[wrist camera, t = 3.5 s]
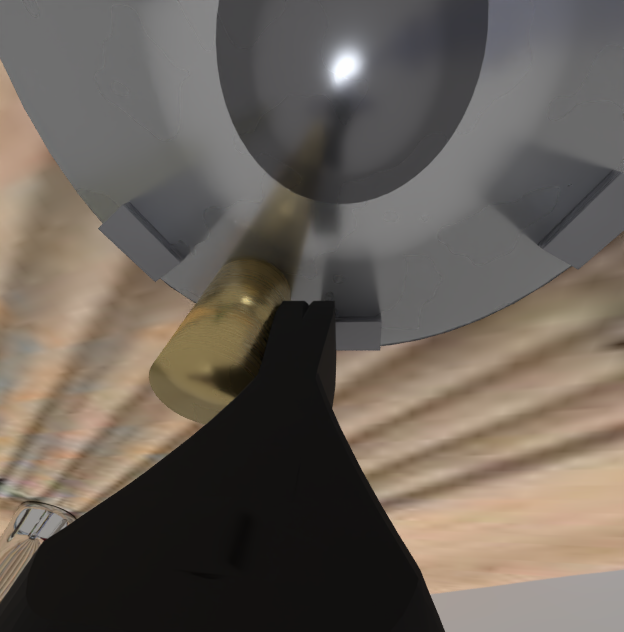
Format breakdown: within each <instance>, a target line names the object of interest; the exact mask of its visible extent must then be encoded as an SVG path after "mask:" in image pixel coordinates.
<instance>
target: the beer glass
mask: <svg viewBox="0 0 624 632" xmlns="http://www.w3.org/2000/svg"><path fill="white" fill-rule="evenodd" d="M75 520H76V519H75V517H74V516H72V515H71V514H70V513H68V512H66V511H64V510H62V509H60V508H57V507H54V506H51V505H47V504H43V503H38V502H25V503H22V504H21V505H20V506H19V507H18V509H17V510H16V512H15V514H14V515H13V517H12V519H11V520H10V522H9V524H8V526H7V527H6V529H5V530H4V532H3V534H2V535H1V536H0V602H1V601H2V599H3V598H4V597H5V595H6V594H7V592H8V591H9V589H10V588H11V586H12V585H13V583H14V582H15V580H16V579H17V577H18V576H19V574H20V573H21V572H22V570H23V569H24V567H25V566H26V564H27V563H28V562H29V560H30V559H31V557H32V556H33V555H34V553H35V552H36V550H37V549H38V548H39V546H40V545H41V544H42V542H43V541H44V540H46V539H48V538H49V537H51V536H52V535H54V534H55V533H57V532H59V531H60V530H62V529H63V528H65V527H66V526H68V525H69V524H71V523H72V522H74V521H75Z"/></svg>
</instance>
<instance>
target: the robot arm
mask: <svg viewBox="0 0 624 632" xmlns="http://www.w3.org/2000/svg"><path fill="white" fill-rule="evenodd" d="M335 380H336V322H335V301H313V302H312V303H310V305H309V304H308V303H307V302H305V301H283V302H282V303H281V305H280V306H279V308H278V310H277V311H276V313H275V316H274V319H273V322H272V326H271V330H270V333H269V337H268V341H267V344H266V348H265V352H264V355H263V359H262V363H261V366H260V369H259V372H258V375H257V376H256V377H255V378H254V379H253V380H252V381H251V382H250V383H249V384H248V385H247V386H246V387H245V388H244V389H243V390H242V391H241V392H240V393H239V394H238V395H237V396H236V397H235V398H234V399H233V400H232V401H231V402H230V403H229V404H228V405H227V406H226V407H225V408H223V409H222V410H221V411H220V412H219V413H218V414H217V415H216V416H215V417H213V418H212V419H211V420H210V421H209V422H208V423H207V424H206V425H204V426H203V427H202V428H201V429H200V430H199V431H197V432H196V433H195V434H194V435H193V436H191V437H190V438H189V439H188V440H186V441H185V442H184V443H183V444H181V445H180V446H179V447H177V448H176V449H175V450H173V451H172V452H171V453H170V454H168V455H167V456H166V457H164V458H163V459H162V460H161V461H159V462H158V463H157V464H155V465H154V466H153V467H151V468H150V469H149V470H148V471H146V472H145V473H144V474H142V475H141V476H139V477H138V478H137V479H135V480H134V481H133V482H131V483H130V484H128V485H127V486H126V487H124V488H123V489H121V490H120V491H118V492H117V493H115V494H114V495H112V496H111V497H109V498H108V499H106V500H105V501H103V502H102V503H100V504H99V505H97V506H96V507H94V508H93V509H91V510H90V511H88V512H87V513H85V514H84V515H82V516H81V517H80V518H78V519H77V520H75V521H74V522H72V523H71V524H69V525H68V526H66V527H65V528H63V529H62V530H60V531H59V532H57V533H55V534H54V535H52V536H51V537H49V538H48V539H46V540H44V541H43V542H42V544H41V545H40V546H39V548H38V549H37V550H36V552H35V553H34V555H33V556H32V557H31V559H30V560H29V562H28V563H27V564H26V566H25V567H24V569H23V570H22V572H21V573H20V574H19V576H18V577H17V579H16V580H15V582H14V583H13V585H12V586H11V588H10V589H9V591H8V592H7V594H6V595H5V597H4V598H3V599H2V601H1V602H0V632H445V630H444V628H443V625H442V623H441V620H440V618H439V615H438V613H437V610H436V608H435V605H434V603H433V601H432V598H431V596H430V593H429V591H428V588H427V586H426V583H425V581H424V578H423V576H422V573H421V571H420V569H419V567H418V565H417V563H416V562H415V560H414V559H413V557H412V555H411V554H410V552H409V550H408V549H407V547H406V546H405V544H404V542H403V541H402V539H401V537H400V536H399V534H398V533H397V531H396V529H395V527H394V526H393V524H392V522H391V521H390V519H389V517H388V516H387V514H386V512H385V511H384V509H383V507H382V506H381V504H380V502H379V500H378V498H377V497H376V495H375V493H374V491H373V489H372V488H371V486H370V484H369V482H368V480H367V479H366V477H365V475H364V473H363V472H362V470H361V468H360V466H359V464H358V462H357V460H356V458H355V456H354V454H353V452H352V450H351V448H350V446H349V444H348V442H347V440H346V438H345V436H344V434H343V432H342V430H341V428H340V426H339V423H338V421H337V419H336V417H335V414H334V412H333V410H332V406H333V399H334V391H335Z"/></svg>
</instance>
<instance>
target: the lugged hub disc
mask: <svg viewBox="0 0 624 632" xmlns="http://www.w3.org/2000/svg"><path fill="white" fill-rule="evenodd" d="M0 59H1V61H2V63H3V65H4V67H5V69H6V71H7V73H8V75H9V77H10V80H11V82H12V84H13V86H14V88H15V90H16V92H17V94H18V96H19V98H20V101H21V103H22V105H23V107H24V109H25V110H26V112H27V114H28V116H29V117H30V119H31V121H32V123H33V124H34V126H35V128H36V129H37V131H38V133H39V135H40V136H41V138H42V140H43V142H44V143H45V145H46V147H47V148H48V150H49V152H50V154H51V155H52V157H53V158H54V160H55V161H56V162H57V164H58V165H59V167H60V168H61V170H62V171H63V173H64V174H65V175H66V177H67V178H68V180H69V181H70V183H71V184H72V186H73V187H74V188H75V190H76V191H77V193H78V194H79V195H80V197H81V198H82V199H83V200H84V201H85V203H86V204H87V205H88V206H89V208H90V209H91V210H92V211H93V212H94V214H95V215H96V216H97V217H98V218H99V220H100V221H101V222H102V223H103V224H102V225H101V226H100V227H99V228H98V229H99V230H100V231H101V232H102V233H103V234H104V235H105V236H106V237H107V238H109V239H110V240H111V241H112V242H113V243H114V244H115V245H116V246H117V247H118V248H119V249H120V250H121V251H122V252H124V253H125V254H126V255H127V256H128V257H129V258H130V259H131V260H132V261H133V262H134V263H135V264H136V265H138V266H139V267H140V268H141V269H142V270H143V271H144V272H145V273H146V274H147V275H148V276H149V277H150V278H152V279H153V280H154V281H155V282H156V281H157V280H159V279H160V278H161V279H162V280H163V281H165V282H166V283H168V284H169V285H170V286H172V287H173V288H175V289H176V290H177V291H179V292H180V293H182V294H183V295H184V296H186V297H187V298H189V299H191V300H193V301H194V302H196V304H195V306H194V307H193V308H192V310H191V311H190V313H189V314H188V315H187V317H186V318H185V320H184V321H183V322H182V324H181V325H180V327H179V328H178V329H177V331H176V332H175V334H174V335H173V336H172V338H171V339H170V341H169V342H168V343H167V345H166V346H165V348H164V349H163V350H162V352H161V353H160V355H159V356H158V358H157V359H156V360H155V362H154V363H153V365H152V366H151V369H150V372H149V380H150V384H151V387H152V389H153V391H154V393H155V394H156V396H157V397H158V398H159V399H160V400H161V401H162V402H163V403H164V404H165V405H166V406H167V407H169V408H170V409H171V410H173V411H174V412H176V413H177V414H179V415H181V416H183V417H185V418H187V419H190V420H193V421H195V422H199V423H202V424H207V423H208V422H209V421H210V420H211V419H212V418H213V417H215V416H216V415H217V414H218V413H219V412H220V411H221V410H222V409H223V408H225V407H226V406H227V405H228V404H229V403H230V402H231V401H232V400H233V399H234V398H235V397H236V396H237V395H238V394H239V393H240V392H241V391H242V390H243V389H244V388H245V387H246V386H247V385H248V384H249V383H250V382H251V381H252V380H253V379H254V378H255V377H256V376H257V375H258V372H259V369H260V366H261V363H262V359H263V355H264V352H265V348H266V344H267V341H268V337H269V333H270V330H271V326H272V322H273V319H274V316H275V313H276V311H277V310H278V308H279V306H280V305H281V303H282V302H283V301H305V302H307V303H308V304H309V305H310V303H312V302H313V301H335V322H336V350H380V345H383V344H390V343H397V342H404V341H410V340H414V339H418V338H422V337H426V336H430V335H434V334H438V333H441V332H444V331H447V330H450V329H453V328H456V327H459V326H462V325H464V324H467V323H470V322H472V321H475V320H477V319H479V318H481V317H484V316H486V315H488V314H490V313H492V312H495V311H497V310H499V309H501V308H503V307H505V306H507V305H509V304H511V303H512V302H514V301H516V300H518V299H520V298H521V297H523V296H525V295H527V294H528V293H530V292H532V291H534V290H536V289H537V288H539V287H540V286H542V285H543V284H545V283H546V282H548V281H549V280H551V279H552V278H554V277H555V276H556V275H558V274H559V273H561V272H562V271H564V270H565V269H567V268H568V267H570V266H573V267H575V268H576V269H579V268H581V267H582V266H583V265H584V264H585V263H586V262H588V261H589V260H590V259H591V258H592V257H593V256H594V255H596V254H597V253H598V252H599V251H600V250H601V249H603V248H604V247H605V246H606V245H607V244H608V243H610V242H611V241H612V240H613V239H614V238H615V237H617V236H618V235H619V234H620V233H621V232H622V231H623V230H624V0H0Z"/></svg>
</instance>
